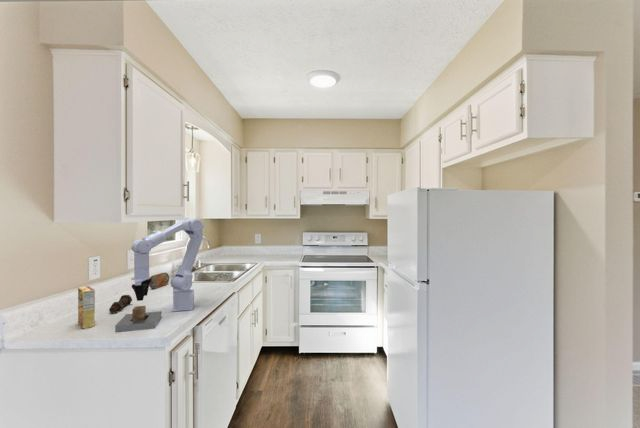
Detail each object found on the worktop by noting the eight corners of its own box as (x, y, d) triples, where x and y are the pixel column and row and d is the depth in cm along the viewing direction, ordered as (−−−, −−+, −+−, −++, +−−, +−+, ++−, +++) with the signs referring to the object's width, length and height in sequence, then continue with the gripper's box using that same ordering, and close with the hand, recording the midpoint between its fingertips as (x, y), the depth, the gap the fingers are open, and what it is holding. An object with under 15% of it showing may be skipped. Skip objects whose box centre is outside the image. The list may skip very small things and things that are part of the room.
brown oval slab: (152, 290, 187) (152, 276, 187) (147, 290, 188) (147, 276, 187) (169, 284, 202) (169, 271, 201) (165, 284, 202) (165, 271, 202)
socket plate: (161, 316, 141) (161, 311, 141) (154, 328, 127) (154, 322, 127) (126, 320, 137) (126, 314, 136) (115, 332, 123) (115, 325, 123)
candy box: (77, 324, 132) (77, 287, 132) (89, 321, 135) (89, 285, 135) (82, 329, 126) (82, 291, 126) (95, 326, 129) (95, 289, 129)
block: (145, 322, 134) (145, 305, 134) (143, 325, 130) (143, 308, 130) (135, 323, 133) (135, 306, 133) (132, 326, 129) (132, 309, 129)
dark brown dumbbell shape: (110, 318, 144) (124, 307, 159) (121, 312, 145) (134, 301, 160) (103, 307, 144) (118, 297, 158) (113, 302, 144) (127, 292, 159)
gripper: (135, 264, 143) (136, 294, 143) (126, 270, 129) (127, 303, 129) (152, 263, 145) (153, 293, 145) (145, 269, 131) (146, 302, 132)
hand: (142, 298), depth 138 cm, fingers open, 7 cm apart
